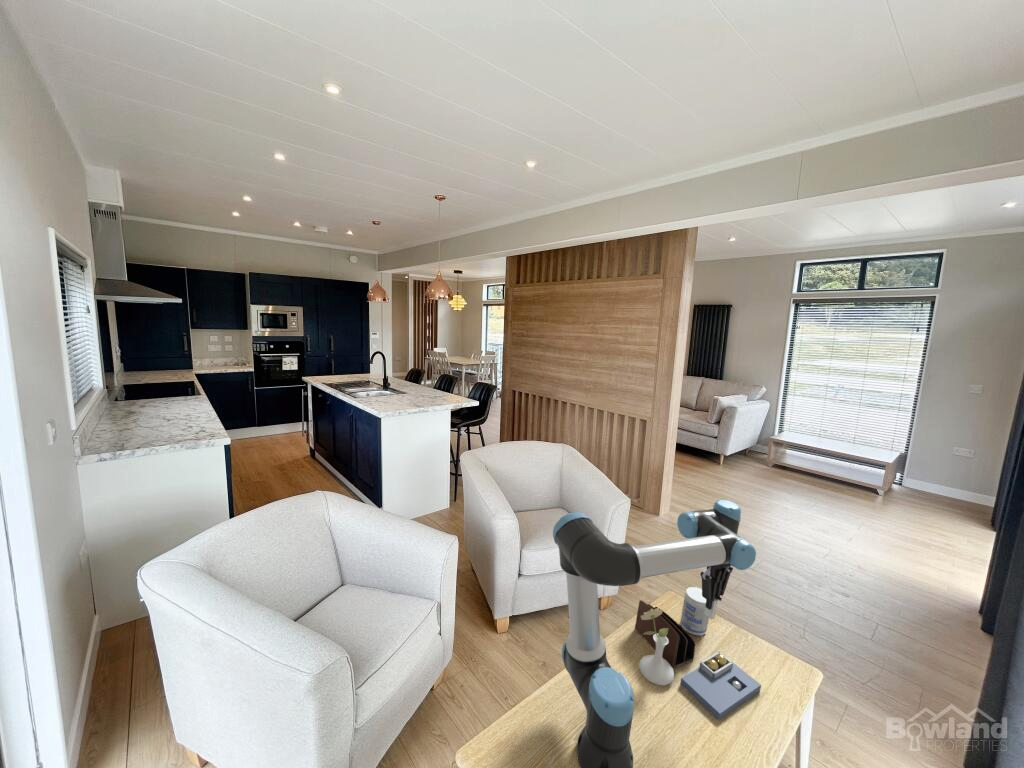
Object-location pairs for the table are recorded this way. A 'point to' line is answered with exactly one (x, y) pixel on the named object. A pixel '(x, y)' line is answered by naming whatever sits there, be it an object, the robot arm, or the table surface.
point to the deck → (720, 687)
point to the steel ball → (736, 685)
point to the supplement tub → (694, 612)
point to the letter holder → (679, 639)
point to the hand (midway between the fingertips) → (709, 616)
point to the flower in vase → (656, 655)
